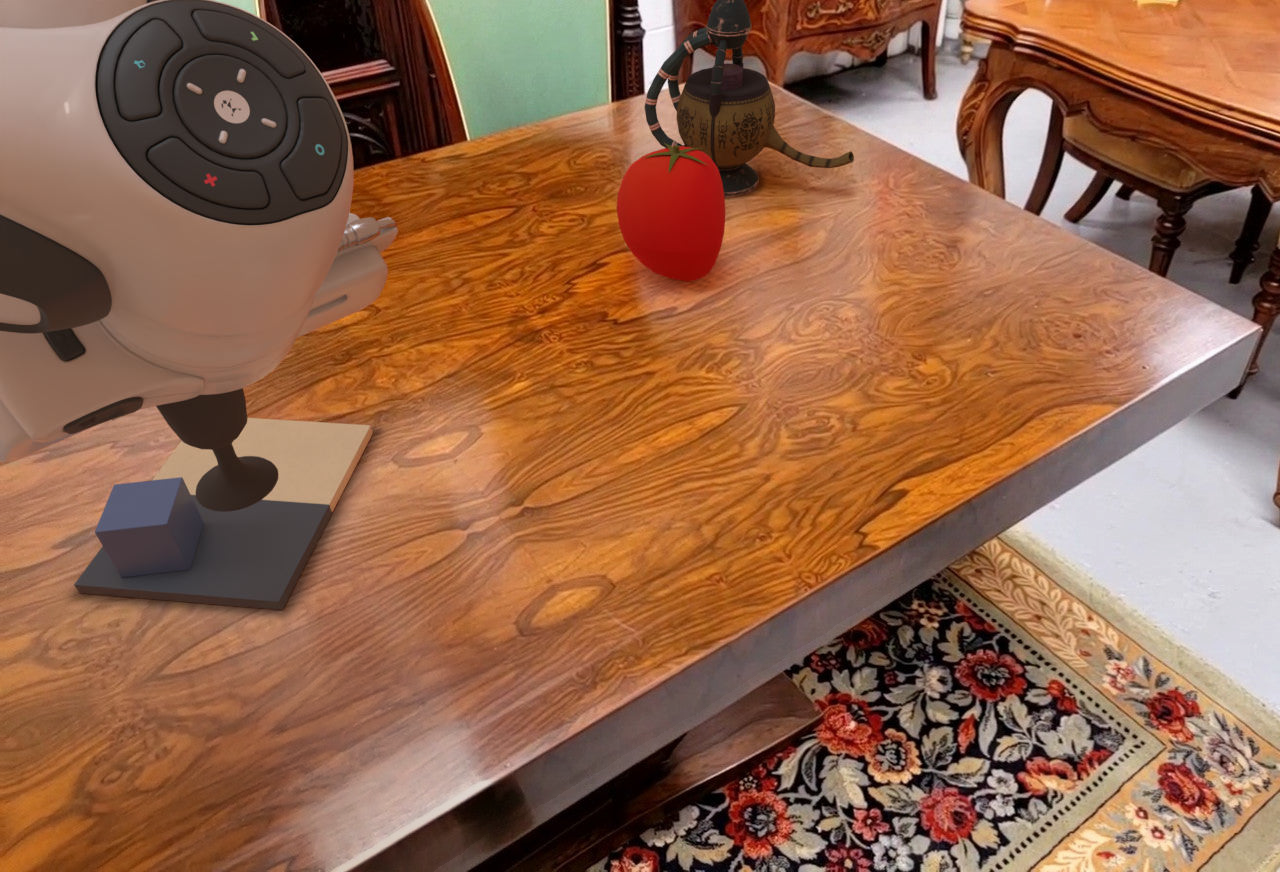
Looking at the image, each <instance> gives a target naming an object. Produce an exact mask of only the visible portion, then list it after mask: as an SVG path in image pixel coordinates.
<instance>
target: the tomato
mask: <svg viewBox="0 0 1280 872" xmlns="http://www.w3.org/2000/svg"><path fill="white" fill-rule="evenodd" d="M664 144H665V145H666V146H667V147H668V148H665V147H663V148H661V149H657V150H654V151H652V152H649V153H646V154H644V155H642V156H641V157H639V158H638V159H637V160H635V161H633V163H631V164H630V165H629V167H628V169H627V170H626V172H625V173H624V174H623V177H622V179H621V183H620V185H619V190H618V192H617V197H616V198H617V199H616V214H617V215H616V216H617V221H618V227H619V230H620V232H621V235H622V238H623V241H624V243H625V244H626V246H627V247H628V249H629V251H630V253H631V254H632V255H633V256H634V257H635V259H636V260H637V261H638V262H640V263H641V265H642V266H644V267H645V268H647V270H649V271H651V272H652V273H654V274H656V275H658V276H660V277H663V278H666V279H670V280H676V281H682V282H693V281H694V282H695V281H698V280H700V279H703V278H705V277H706V276H708V275H709V274H710V273H711V271H712V270H713V268H714V267H715V265H716V262H717V260H718V257H719V254H720V252H721V249H722V245H723V240H724V235H725V228H726V227H725V225H726V224H725V223H726V201H725V198H726V197H724V190H723V184H722V180H721V176H720V173H719V170H718V168H717V166H716V165H715V163H714V162H713V161H712V159H711V158H710V157H709V156H708V155H707V154H705V153H704V152H702V151H699V150H696V149H701V148H690V147H684V146H678V145H675V146H674V147H672V146H670V145H668V144H666V143H664Z"/></svg>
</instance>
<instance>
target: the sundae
mask: <svg viewBox="0 0 1280 872" xmlns="http://www.w3.org/2000/svg"><path fill="white" fill-rule="evenodd" d="M155 408H157V410H158V411H159V413H160V415H161V416H162V418H163V419H164V421H165V422H166V424H167V425H168V427H169V428H170V429H171V430H172V431H173V432H174V434H175V435H176V436H177V437H178V439H180V441H183V442H184V443H185V444H187V445H190V446H192V447H196V448H199V449H209V450H213V452H214V455H215V457H216V459H217V462H218V465H217V466H215V467H213V468H212V469H210V470H209V471H208V472H207V473H205V474H204V475H203V476H202V478H201V479H200V481H199V482H198V484H197V486H196V499H197V500H198V502H199V503H200V504H201V505H202V506H203V507H205V508H207V509H210V510H213V511H221V512H228V511H235V510H240V509H243V508H247V507H249V506H251V505H253V504H255V503H257V502H259V501H261V500H262V499H263V498H264V497H266V496H267V495H268V494H269V493H270V492H271V491H272V490H273V488H274V487H275V485H276V483H277V481H278V469H277V468H276V466H275V465H274V464H273V463H272V462H271V461H269V460H267V459H265V458H262V457H258V456H243V457H237V455H236V453H235V451H234V448H233V445H232V442H233V441H234V440H235V439H237V438H238V436H239V435H240V433H241V432H242V430H243V429H244V427H245V425H246V424H247V418H248V411H247V410H248V409H247V401H246V396H245V391H244V388H241V389H238V390H235V391H231V392H227V393H220V394H211V395H199V396H197V397H194V398H191V399H188V400H184V401H179V402H174V403H168V404H163V405H158V406H155Z"/></svg>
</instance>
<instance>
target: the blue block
mask: <svg viewBox="0 0 1280 872" xmlns="http://www.w3.org/2000/svg"><path fill="white" fill-rule="evenodd" d="M203 523H204V522H203V520H202V518H201V516H200V514H199V512H198V510H197V507H196V505H195V503H194V501H193V499H192V497H191V495H190V492H189V490H188V488H187V486H186V484H185V482H184V480H183V478H182V477H179V478H170V479H161V480H153V479H151V480H142V481H135V482H125V483H117V484H113V486H112V489H111V491H110V494H109V496H108V499H107V501H106V503H105V506H104V508H103V510H102V513H101V516H100V517H99V520H98V522H97V525H96V528H95V530H94V534H95V535H96V538H97V539H98V541H99V543H100V544H101V547H102V546H103V547H104V549H105V551H106V552H107V554H108V556H109V558H110V559H111V561H112V563H113V564H114V566H115V568H116V570H117V571H118V573H119V575H120V576H121V578H124V577H133V576H141V575H149V574H158V573H166V572H175V571H183V570H190V568H191V564H192V561H193V558H194V554H195V551H196V547H197V544H198V540H199V537H200V534H201V530H202V527H203Z"/></svg>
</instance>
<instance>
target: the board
mask: <svg viewBox="0 0 1280 872" xmlns="http://www.w3.org/2000/svg"><path fill="white" fill-rule="evenodd" d="M373 434H374V432H373V428H372V425H370V424H358V423H357V424H356V423H341V422H325V421H309V420H294V419H293V420H291V419H290V420H289V419H277V418H276V419H275V418H261V417H260V418H259V417H247V424H246V425H245V427H244V429H243V430H242V432H241V433H240V435H239V436H238V438H237V439H235V440H234V441H233V442H232V445H233V448H234V451H235V453H236V455H237V457H243V456H258V457H262V458H265V459H267V460H269V461H271V462H272V463H273V464H274V465H275V466H276V468H277V469H278V481H277V483H276V485H275V487H274V488H273V490H272V491H271V492H270V493H269V494H268V495H267V496H266V497H264V498H263V499H262V500H261V501H259V502H257V503H255V504H253V505H251V506H249V507H247V508H243V509H240V510H235V511H228V512H221V511H213V510H210V509H207V508H205V507H203V506H202V505H201V504H200V503H199V502H198V500H197V499H196V486H197V484H198V482H199V481H200V479H201V478H202V476H203V475H204V474H205V473H207V472H208V471H209V470H210V469H212V468H213V467H215V466H217V465H218V462H217V459H216V457H215V455H214V452H213V450H209V449H199V448H196V447H192V446H190V445H187V444H185V443H184V442H183V441H182V440H180V442H179V443H178V445H177V446H176V447H175V449H174V450H173V451H172V453H171V454H170V455H169V457H168V458H167V459H166V460H165V462H164V463H163V465H162V466H161V467H160V469H159V470H158V471H157V473H156V474H155V476H154V477H153V478H152V480H161V479H170V478H179V477H182V478H183V480H184V482H185V484H186V486H187V488H188V490H189V492H190V495H191V497H192V499H193V501H194V503H195V505H196V507H197V510H198V512H199V514H200V516H201V518H202V520H203V522H204V523H203V527H202V530H201V534H200V537H199V540H198V544H197V547H196V551H195V554H194V558H193V561H192V564H191V568H190V570H183V571H175V572H166V573H158V574H149V575H141V576H133V577H124V578H121V576H120V575H119V573H118V571H117V570H116V568H115V566H114V564H113V563H112V561H111V559H110V558H109V556H108V554H107V552H106V551H105V549H104V547H103V546H102V545H101V548H100V549H99V551H98V552H97V553H96V554H95V556H94V557H93V558H92V559H91V561H90V562H89V564H88V565H87V566H86V568H85V569H84V571H82V574H81V575H80V576H79V577H78V578H77V579H76V581H75V582H74V584H73V585H74V587H75V588H76V590H77V592H78V593H79V594H85V595H97V596H109V597H110V596H111V597H123V598H132V599H133V598H134V599H146V600H158V601H167V602H181V603H194V604H206V605H215V606H230V607H240V608H253V609H265V610H275V611H277V610H278V611H283V610H284V608H285V606H286V604H287V602H288V599H289V598H290V596H291V594H292V592H293V590H294V589H295V586H296V585H297V583H298V581H299V579H300V576H301V574H302V573H303V571H304V569H305V568H306V565H307V563H308V561H309V559H310V557H311V556H312V553H313V551H314V549H315V548H316V546H317V544H318V541H320V540H319V539H321V538H320V537H321V536H322V534H323V532H324V530H325V528H326V526H327V525H328V522H329V520H330V518H331V516H332V514H333V512H334V510H335V508H336V506H337V504H338V502H339V500H340V499H341V496H342V494H343V493H344V490H345V488H346V487H347V484H348V483H349V481H350V479H351V478H352V475H353V473H354V471H355V470H356V467H357V465H358V464H359V461H360V459H361V458H362V455H363V453H364V451H365V450H366V447H367V446H368V444H369V442H370V440H371V438H372V436H373Z"/></svg>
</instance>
